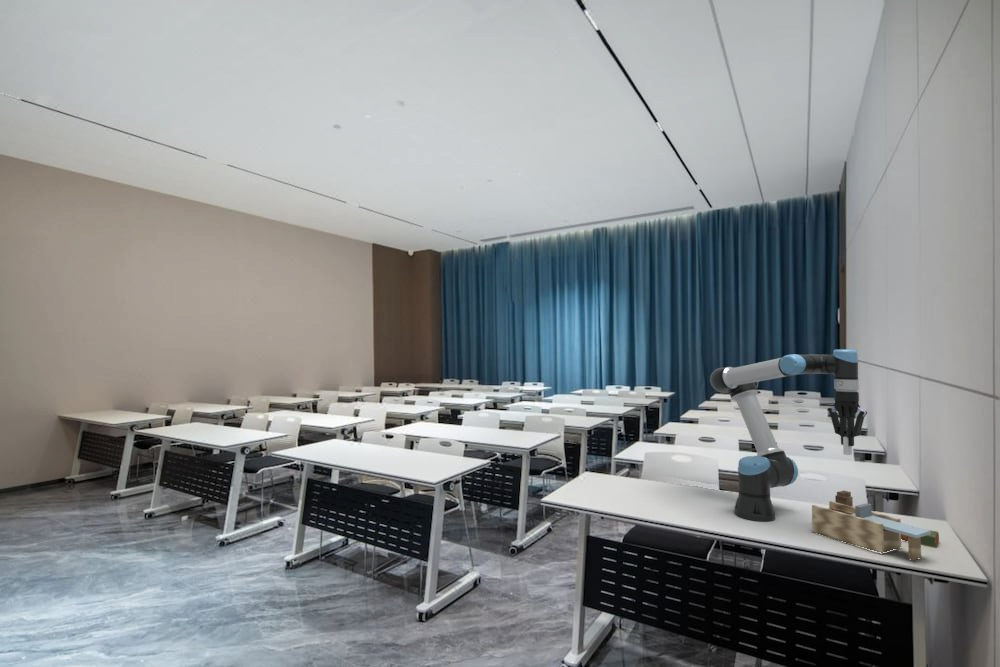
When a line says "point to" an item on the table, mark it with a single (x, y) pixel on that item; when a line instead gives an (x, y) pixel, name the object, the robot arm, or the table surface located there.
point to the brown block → (844, 498)
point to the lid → (889, 522)
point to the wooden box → (859, 529)
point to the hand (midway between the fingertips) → (847, 454)
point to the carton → (927, 539)
